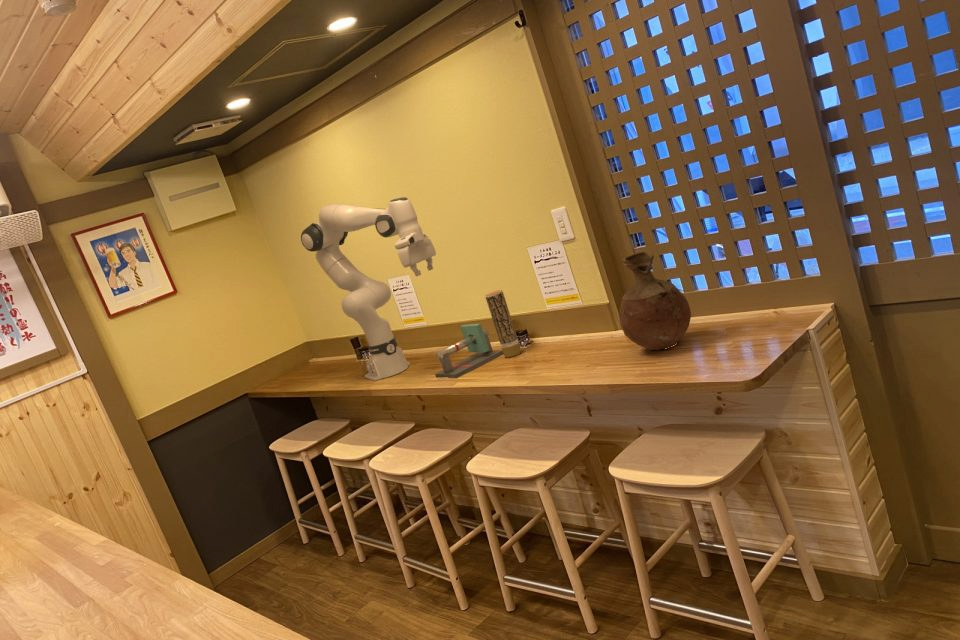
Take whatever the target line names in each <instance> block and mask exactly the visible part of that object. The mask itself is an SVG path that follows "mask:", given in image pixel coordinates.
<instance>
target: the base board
mask: <svg viewBox="0 0 960 640" xmlns="http://www.w3.org/2000/svg"><path fill="white" fill-rule="evenodd" d="M501 356H504V353H503V350H502V349H500V350H493V352H491V353H483V352H475V353H474V354H472V355H470V356H467V357H466V358H464V359H462V360H459V361H457V362H456V363H454V364H452V367H453V370H454V371H453V372H451V373H444V371H443V369H442V370H439V371H437V372H436V373H434V374H435V378H438V377H448V378H447V379H458V378H460V377H462V376H464V375H466V374H468V373H470V372H472V371H474V370H475V369H477V368H479V367H481V366H484V365H485V364H487V363H489V362H491V361H493V360H495V359H497V358H500V357H501Z"/></svg>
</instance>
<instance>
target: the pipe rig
mask: <svg viewBox="0 0 960 640" xmlns="http://www.w3.org/2000/svg"><path fill="white" fill-rule="evenodd" d="M483 332H484V335H485V339H486V342H487V345H488V348H489V351H487V352H483V353H491V352H493V351H494V350H493V348H492V347H493V346H492V343H491V341H490V337H489V331H488V330H487V329H486V328H485V329H483ZM475 342H477V341H476V338H475V335H474V334H473V335H472V336H470V337H468V338H466V339H464V338H463V339H462V340H460V341H457V342H455V343H452V344H451V345H449V346H447V347H445V348H442V349H441V350H439V351H436V357H437V359H438V360H439V362H440V365H441V368H442V370H443V371H444V373H451V372H453V371H454V370H453V367H452V365H453V364H452V361H451V358H450V355H453V354H455V353H457V352H458V351H460V350H463V349H465V348H467V346H469V345H471V344H473V343H475Z"/></svg>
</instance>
